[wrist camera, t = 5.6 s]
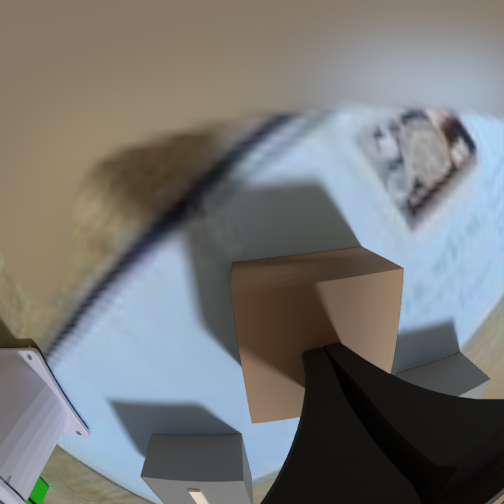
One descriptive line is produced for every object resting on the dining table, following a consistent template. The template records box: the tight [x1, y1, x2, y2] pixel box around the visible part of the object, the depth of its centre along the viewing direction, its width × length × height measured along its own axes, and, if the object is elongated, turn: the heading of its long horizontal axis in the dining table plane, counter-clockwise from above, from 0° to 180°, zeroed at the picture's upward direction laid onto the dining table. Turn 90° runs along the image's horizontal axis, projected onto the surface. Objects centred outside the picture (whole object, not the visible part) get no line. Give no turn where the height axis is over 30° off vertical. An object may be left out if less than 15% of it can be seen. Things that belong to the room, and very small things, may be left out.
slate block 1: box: [140, 434, 253, 504], centre depth 13 cm, size 6×6×4 cm
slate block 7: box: [396, 352, 490, 399], centre depth 13 cm, size 6×6×4 cm
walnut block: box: [230, 247, 404, 423], centre depth 11 cm, size 6×6×4 cm
